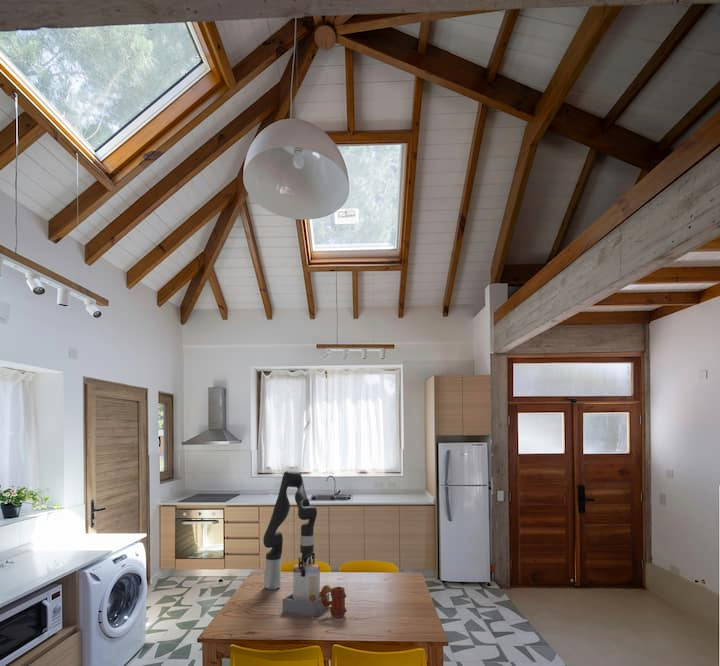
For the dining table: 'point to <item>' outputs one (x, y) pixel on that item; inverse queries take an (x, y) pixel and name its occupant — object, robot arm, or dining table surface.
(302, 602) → the bin
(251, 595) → the dining table surface
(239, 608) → the dining table surface
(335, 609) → the mug
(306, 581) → the cracker box
